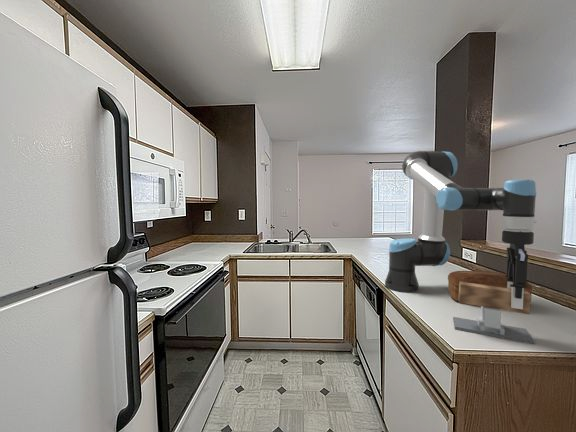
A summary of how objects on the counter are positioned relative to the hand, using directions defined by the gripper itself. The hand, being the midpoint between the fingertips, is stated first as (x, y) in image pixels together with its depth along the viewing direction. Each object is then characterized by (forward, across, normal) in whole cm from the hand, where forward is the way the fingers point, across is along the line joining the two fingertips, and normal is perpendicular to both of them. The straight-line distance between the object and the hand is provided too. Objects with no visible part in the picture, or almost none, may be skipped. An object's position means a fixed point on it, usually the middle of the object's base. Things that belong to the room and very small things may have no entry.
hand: (514, 305), depth 87 cm
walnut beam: (+1, 0, +6) cm, 6 cm away
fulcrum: (+9, 0, +6) cm, 11 cm away
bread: (+10, +32, +3) cm, 33 cm away
